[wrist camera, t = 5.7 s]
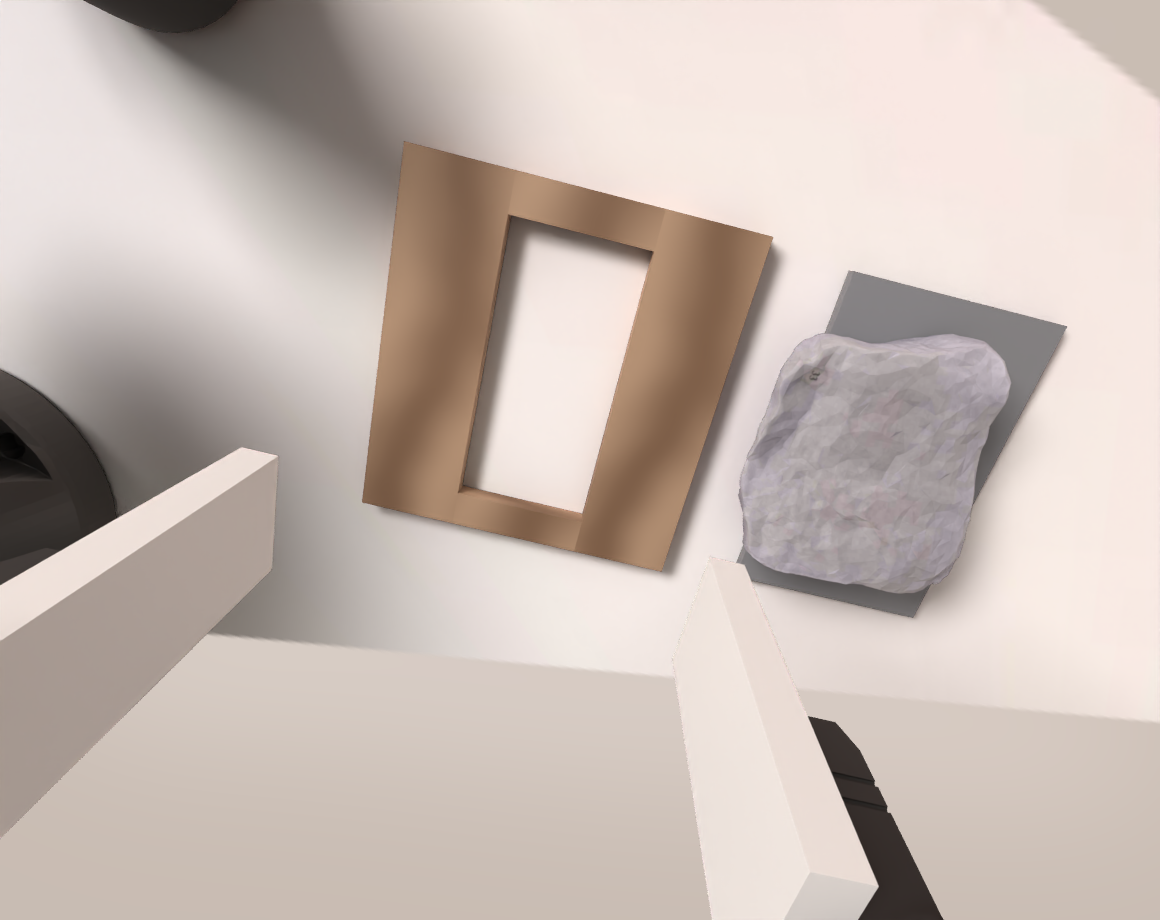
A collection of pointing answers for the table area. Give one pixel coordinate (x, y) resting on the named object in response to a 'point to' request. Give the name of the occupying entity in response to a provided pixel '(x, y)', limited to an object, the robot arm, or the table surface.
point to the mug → (167, 12)
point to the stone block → (871, 459)
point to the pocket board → (460, 339)
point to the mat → (914, 312)
